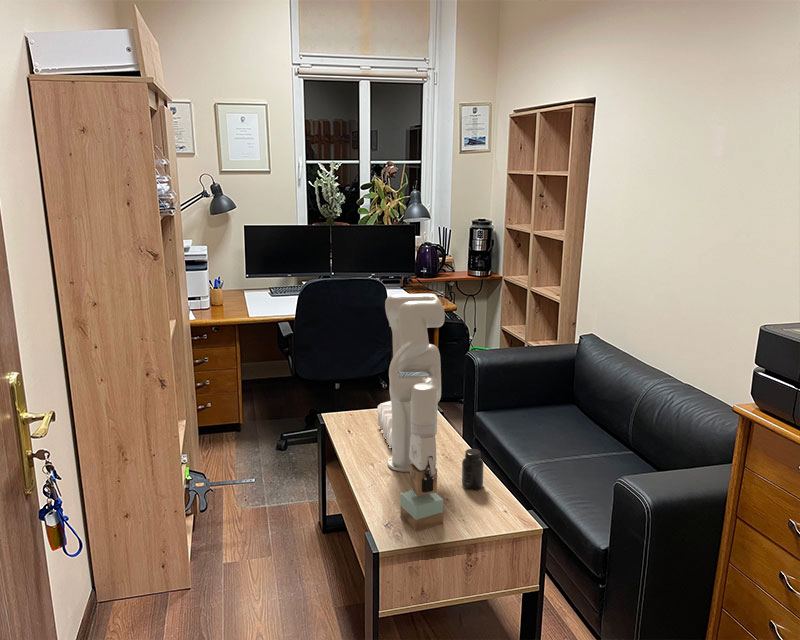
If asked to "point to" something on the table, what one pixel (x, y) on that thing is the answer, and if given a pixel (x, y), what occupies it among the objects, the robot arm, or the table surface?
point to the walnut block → (420, 480)
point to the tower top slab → (421, 504)
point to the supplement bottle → (472, 470)
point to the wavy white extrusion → (386, 421)
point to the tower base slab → (421, 520)
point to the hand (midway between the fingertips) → (423, 485)
